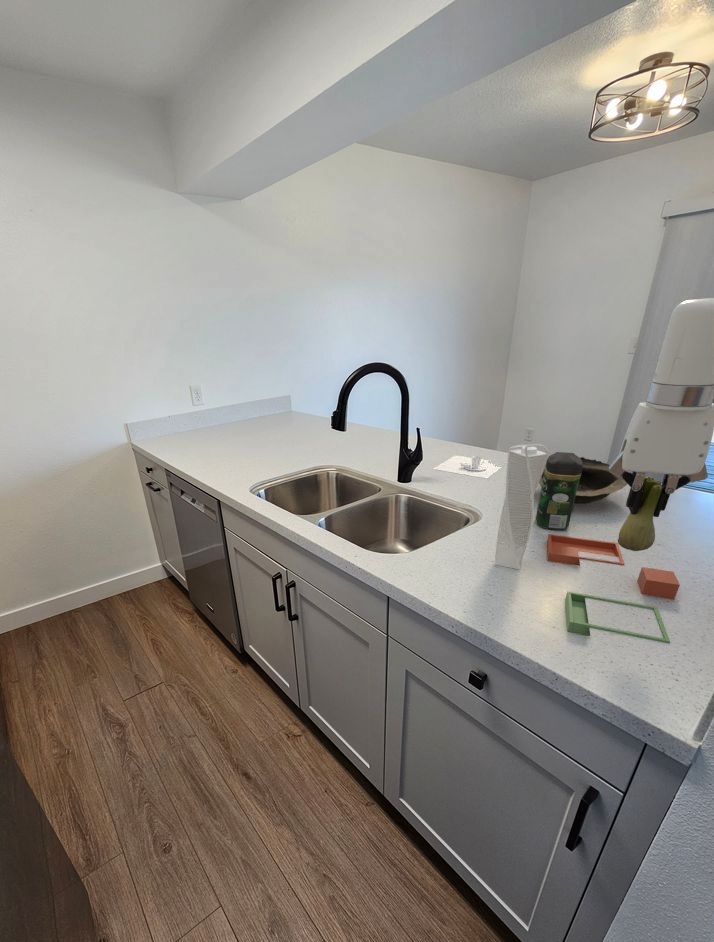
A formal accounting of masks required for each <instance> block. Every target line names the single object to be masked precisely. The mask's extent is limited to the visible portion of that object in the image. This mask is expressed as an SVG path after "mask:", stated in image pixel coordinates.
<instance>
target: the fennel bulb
mask: <svg viewBox="0 0 714 942" xmlns="http://www.w3.org/2000/svg"><path fill="white" fill-rule="evenodd" d="M660 485H662V481H660V480H657V481H656V480H655V478H654V477H652V476H645V478H644V481H643V484H642V487H643V488H642V490H643V497H642V500H641V503H640V506H639V510H638V513H637V514H635V515H633V514H631V512H630V511H629V512H630V513H629V514H628V516H627V517H626V519H625V521H624V522H623V524H622V526H621V528H620V529H619V533H618V539H617V543H618V545H619V547H621V548H623V549H625V550H628V551H632V552H640V551H645V550H649V549H650V548H651V547H652V546H653V544H654V542H655V540H656V529H655V523H654V516H653V515H654V511H655V508H656V505H657V502H658V499H659V497H660V494H661V491H662V487H661V486H660Z"/></svg>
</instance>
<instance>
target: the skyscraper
mask: <svg viewBox="0 0 714 942" xmlns="http://www.w3.org/2000/svg"><path fill="white" fill-rule="evenodd" d="M538 447H539V448H542V449H544V451H541V450H538ZM516 448H517V449H516ZM549 456H550V451H549V450H548V448H547V446H546V445H544V444H542V443H529V444H517V445H512V446H510V447H509V448H508V451H507V460H506V461H507V462H506V474H505V475H506V476H505V498H504V501H503V505H502V508H501V509H502V510H501V514H500V518H499V524H498V531H497V537H496V538H497V539H496V545H495V555H494V566H500V567H505V568H510V569H516V570H519V571H520V570H521V567H520V566H521V562H522V560H523V557H524V555H525V552H526V549H527V545H528V542H529V539H530V535H531V531H532V526H533V521H534V513H535V493H536V491H537V488H538V486H539V485H540V484H539V481H540V478H541V476H542V473H543V470H544V468H545V465H546V462H547V459H548V457H549Z"/></svg>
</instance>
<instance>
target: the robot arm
mask: <svg viewBox="0 0 714 942" xmlns="http://www.w3.org/2000/svg"><path fill="white" fill-rule="evenodd" d="M649 387H650V388H649V391H648V394H647V397H646V401H645V402H644V401H643V402H639V403H638V405H637V407H636V409H635V410H634V412H633V415H632V417H631V419H630V422H629V423H628V427H627V429H626V432H625V435H624V438H623V440H622V444H621V447H620V450H619V454H618V455H617V457H616V458H615V459H614V460H613V462H612V463H611V464H609V465H610V466H609V471H610V473H612V474H614V475H616V476H618V477H621V478H623V479H624V480H625V481H626V482H627V484H628V485H627V486H629V492H628V495H627V500H626V503H625V507H626V508H628V510H629V512H631V514H633V515H635V514H637V513H638V510H639V506H640V503H641V500H642V497H643V490H642V488H643V487H642V484H643V481H644V478H645V477H646V475H647V473H648V474H659V475H660V474H661V475H663V478H662V481H661V485H660V486H661V487H662V491H661V494H660V497H659V499H658V502H657V505H656V508H655V511H654V515H653V518H659V516H660V514H661V511H662V512H663V511H665V510H666V508H667V504H668V502H669V499H670V496H671V495H672V494H674V493H675V492H676V491H678V489H681V488H682V487H684V486H686V485H688V484H690V483H696V482H701V481H705V480H707V479H708V477H709V476H708V471H707V465H706V461H707V458H708V454H709V452H710V449H711V445H712V439H713V436H714V297H708V298H707V297H706V298H695V299H688V300H684V301H682V302H680V303H678V304H677V305H676V306H675V307H674V309H673V310H672V313H671V315H670V318H669V321H668V325H667V328H666V332H665V335H664V338H663V342H662V346H661V349H660V353H659V357H658V360H657V364H656V367H655V371H654V373H653V378H652V381H651V383H650V386H649Z"/></svg>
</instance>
